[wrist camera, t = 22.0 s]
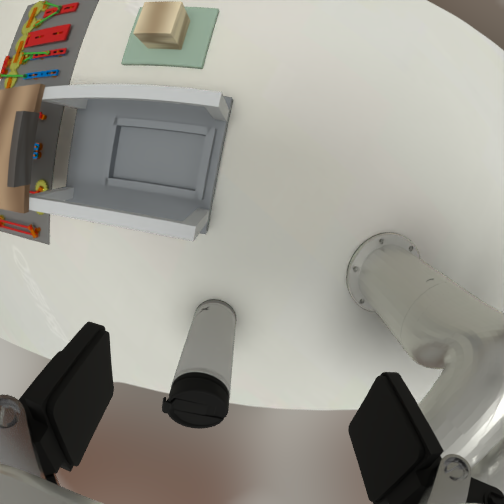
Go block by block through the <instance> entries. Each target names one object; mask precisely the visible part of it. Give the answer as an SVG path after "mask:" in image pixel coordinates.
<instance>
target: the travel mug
mask: <svg viewBox="0 0 504 504" xmlns="http://www.w3.org/2000/svg"><path fill="white" fill-rule="evenodd" d="M235 325H236V315H235V312H234V310H233V309H232V308H231V307H230V306H229V305H228V304H227V303H225V302H223V301H219V300H209V301H206V302H203V303H202V304H200V306H199V307H198V308H197V310H196V312H195V315H194V318H193V321H192V324H191V327H190V330H189V333H188V336H187V339H186V342H185V345H184V348H183V351H182V354H181V357H180V360H179V363H178V366H177V370H176V373H175V376H174V379H173V382H172V386H171V390H170V394H169V399H168V400H167V401H166V397H164V398H163V405H162V411H163V412H164V413H168V415H169V416H170V417H171V418H172V419H173V420H174V421H175V422H177V423H179V424H181V425H183V426H186V427H191V428H208V427H212V426H215V425H217V424H219V423H220V422H221V421H223V419H224V417H226V415H227V413H228V406H229V398H230V389H231V376H232V363H233V350H234V338H235Z"/></svg>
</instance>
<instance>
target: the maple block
mask: <svg viewBox="0 0 504 504" xmlns="http://www.w3.org/2000/svg"><path fill="white" fill-rule="evenodd" d="M189 24H190V19H189V16H188V14H187V12H186V10H185V8H184V5H183V3H182V2H145V3H144V5H143V8H142V11H141V13H140V16H139V18H138V21H137V24H136V27H135V29H134V32H133V34H134V35H135V36H136V37H137V38H138V39H139V40H140V41H141V42H142V43H143V44H144V45H145V46H146V47H147V48H148V49H175V50H182V46H183V43H184V40H185V36H186V33H187V30H188V27H189Z"/></svg>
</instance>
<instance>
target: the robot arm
mask: <svg viewBox="0 0 504 504" xmlns="http://www.w3.org/2000/svg"><path fill="white" fill-rule="evenodd" d="M379 239H380V241H379ZM353 267H355V268H353ZM347 285H348V289H349V292H350V294H351V296H352V298H353V299H354V301H355V302H356V303H357V304H358V305H359V306H360V307H362V308H363V309H365V310H368V311H372V312H377V314H378V315H379V316H380V318H381V319H382V320H383V321H384V323H385V324H386V325H387V327H388V328H389V329H390V331H391V332H392V333H393V335H394V336H395V337H396V339H397V340H398V342H399V343H400V344H401V346H402V347H403V348H404V349H405V351H406V352H407V353H408V355H409V356H410V357H411V358H412V359H413V360H414V361H415V362H416V363H418V364H419V365H422V366H424V367H427V368H433V369H444V370H443V372H442V373H441V375H440V376H439V378H438V379H437V381H436V382H435V383H434V385H433V387H432V388H431V389H430V391H429V392H428V393H427V395H426V396H425V397H424V398H423V399H422V401H421V402H420V403H419V404H417V403H416V401H415V399H414V397H413V396H412V394H411V392H410V391H409V389H408V387H407V386H406V384H405V382H404V381H403V379H402V378H401V376H400V374H399V373H396V372H384V373H382V374H381V375H380V376H378V377H377V378H376V380H375V381H374V383H373V385H372V387H371V389H370V390H369V392H368V394H367V396H366V398H365V399H364V401H363V403H362V404H361V406H360V408H359V410H358V411H357V413H356V415H355V416H354V418H353V420H352V421H351V423H350V425H349V435H350V438H351V441H352V444H353V448H354V451H355V454H356V457H357V460H358V464H359V467H360V470H361V474H362V477H363V481H364V484H365V487H366V491H367V494H368V498H369V500H370V501H371V502H373V504H504V313H502V312H500V311H498V310H497V309H495V308H493V307H491V306H489V305H488V304H486V303H484V302H483V301H481V300H480V299H478V298H477V297H475V296H474V295H472V294H470V293H469V292H468V291H466V290H465V289H463V288H462V287H461V286H459V285H458V284H456V283H455V282H453V281H452V280H451V279H449V278H448V277H446V276H445V275H443V274H442V273H440V272H439V271H437V270H436V269H434V268H433V267H431V266H430V265H428V264H427V263H425V262H424V261H422V260H421V259H420V256H419V253H418V251H417V249H416V247H415V245H414V244H413V243H412V242H411V241H410V240H408V239H407V238H406V237H404V236H402V235H399V234H395V233H383V234H379V235H376V236H374V237H372V238H370V239H369V240H367V241H366V242H365V243H363V244H362V245H361V246H360V247H359V249H358V250H357V251H356V252H355V254H354V256H353V257H352V259H351V262H350V264H349V267H348V272H347ZM360 299H361V300H360ZM113 391H114V386H113V377H112V366H111V353H110V336H109V332H107V331H105V327H104V326H102V325H99V324H95V323H92V322H87V323H86V324H85V325H84V326H83V327H82V329H81V330H80V331H79V332H78V333H77V334H76V335H75V336H74V338H73V339H72V340H71V341H70V342H69V343H68V344H67V346H66V347H65V348H64V349H63V350H62V351H60V352H58V353H57V354H56V355H55V356H54V357H53V359H52V360H51V361H50V362H49V363H48V364H47V366H46V367H45V368H44V370H42V372H41V373H40V374H39V375H38V376H37V378H36V379H35V380H34V381H33V383H32V384H31V385H30V386H29V388H28V389H27V390H26V391H25V393H24V394H23V395H22V396H21V398H20V399H19V400H18V399H16V398H15V397H12V396H9V395H0V504H104V503H101V502H98V501H95V500H93V499H90V498H87V497H85V496H82V495H80V494H77V493H75V492H73V491H70V490H68V489H65V488H63V487H61V486H60V484H59V481H58V479H57V476H56V473H57V472H58V470H59V468H60V467H61V468H63V469H66V470H68V471H71V470H72V468H73V466H78V465H79V463H80V462H81V459H82V457H83V455H84V453H85V451H86V449H87V447H88V444H89V442H90V440H91V438H92V436H93V434H94V432H95V430H96V428H97V426H98V424H99V422H100V420H101V418H102V416H103V414H104V412H105V410H106V407H107V406H108V404H109V402H110V400H111V398H112V396H113Z"/></svg>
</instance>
